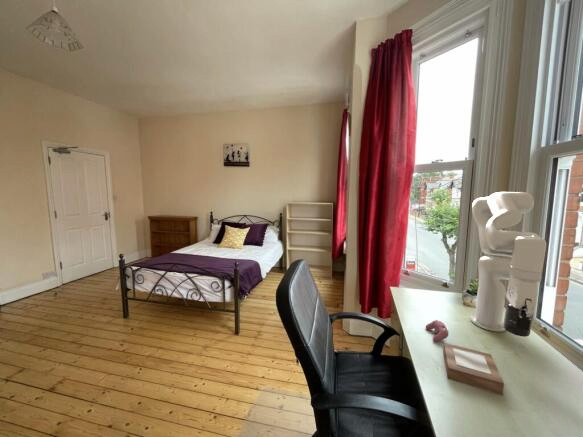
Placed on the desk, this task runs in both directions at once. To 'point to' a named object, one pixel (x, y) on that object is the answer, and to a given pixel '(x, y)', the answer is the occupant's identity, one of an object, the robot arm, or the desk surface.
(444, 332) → the video game controller
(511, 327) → the supplement bottle
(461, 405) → the desk surface
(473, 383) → the brown picture frame
